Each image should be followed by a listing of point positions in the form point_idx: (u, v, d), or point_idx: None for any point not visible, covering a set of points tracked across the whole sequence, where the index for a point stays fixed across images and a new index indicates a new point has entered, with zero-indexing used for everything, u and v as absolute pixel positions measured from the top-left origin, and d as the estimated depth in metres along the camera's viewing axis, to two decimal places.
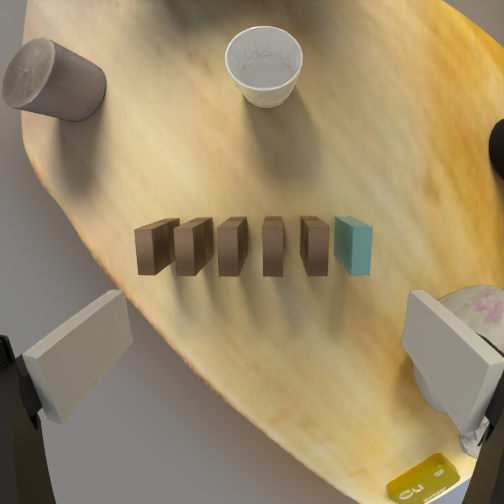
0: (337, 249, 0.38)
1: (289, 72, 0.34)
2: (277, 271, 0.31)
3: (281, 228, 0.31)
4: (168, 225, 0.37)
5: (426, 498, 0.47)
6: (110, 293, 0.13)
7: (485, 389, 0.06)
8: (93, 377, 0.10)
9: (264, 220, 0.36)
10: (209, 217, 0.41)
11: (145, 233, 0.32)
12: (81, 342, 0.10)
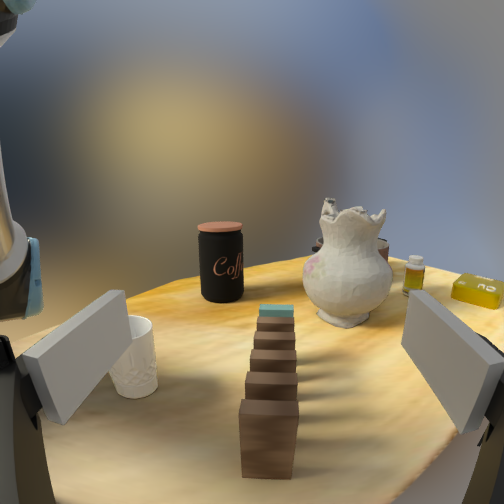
0: None
1: None
2: (290, 334, 0.38)
3: (256, 331, 0.39)
4: None
5: (489, 280, 0.70)
6: (110, 293, 0.13)
7: (485, 389, 0.06)
8: (93, 377, 0.10)
9: None
10: None
11: (245, 404, 0.25)
12: (81, 342, 0.10)
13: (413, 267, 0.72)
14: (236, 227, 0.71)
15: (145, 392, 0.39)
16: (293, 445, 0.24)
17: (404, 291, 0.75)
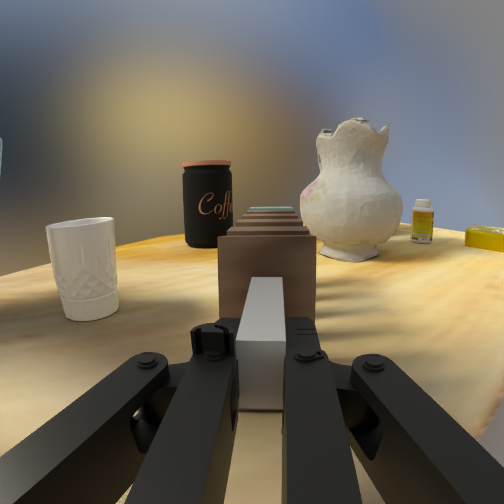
0: None
1: None
2: (291, 214, 0.29)
3: (245, 214, 0.30)
4: None
5: (501, 229, 0.63)
6: (256, 280, 0.15)
7: (269, 366, 0.09)
8: None
9: None
10: None
11: None
12: None
13: (421, 209, 0.64)
14: (224, 161, 0.62)
15: (98, 312, 0.29)
16: (311, 314, 0.16)
17: (413, 238, 0.67)
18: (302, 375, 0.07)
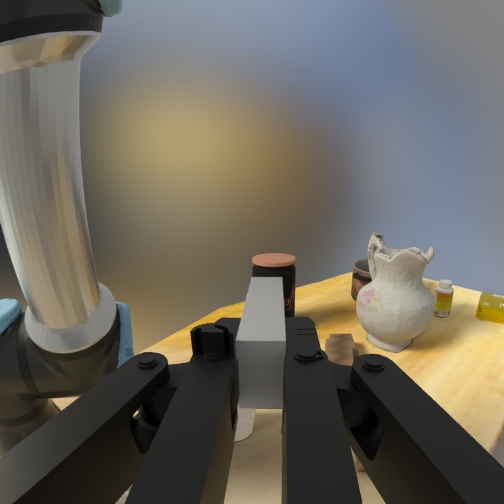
0: None
1: None
2: None
3: (326, 343, 0.60)
4: None
5: None
6: (256, 280, 0.15)
7: (269, 366, 0.09)
8: None
9: None
10: None
11: None
12: None
13: (444, 291, 0.75)
14: (292, 261, 0.74)
15: (246, 434, 0.41)
16: None
17: (435, 312, 0.78)
18: (302, 375, 0.07)
